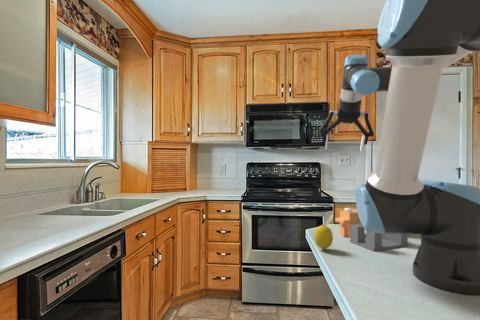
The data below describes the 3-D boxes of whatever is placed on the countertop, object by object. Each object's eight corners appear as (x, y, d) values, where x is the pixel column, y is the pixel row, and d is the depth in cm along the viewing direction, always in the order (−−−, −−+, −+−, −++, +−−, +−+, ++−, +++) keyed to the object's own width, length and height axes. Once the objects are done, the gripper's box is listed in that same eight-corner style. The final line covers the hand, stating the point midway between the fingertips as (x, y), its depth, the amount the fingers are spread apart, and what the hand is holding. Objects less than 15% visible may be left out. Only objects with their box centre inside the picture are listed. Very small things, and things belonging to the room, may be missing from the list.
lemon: (310, 248, 88) (310, 223, 88) (325, 246, 90) (325, 222, 90) (321, 253, 83) (321, 227, 83) (336, 251, 85) (336, 225, 85)
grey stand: (408, 245, 91) (408, 227, 91) (374, 251, 85) (374, 231, 85) (382, 237, 100) (382, 221, 100) (350, 242, 95) (350, 224, 95)
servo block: (369, 235, 104) (369, 208, 104) (344, 238, 99) (344, 210, 99) (359, 232, 109) (359, 206, 109) (334, 234, 104) (334, 208, 104)
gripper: (386, 97, 102) (375, 147, 113) (316, 95, 109) (312, 143, 120) (389, 103, 96) (377, 156, 107) (315, 101, 103) (311, 151, 113)
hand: (343, 149), depth 113 cm, fingers open, 13 cm apart
